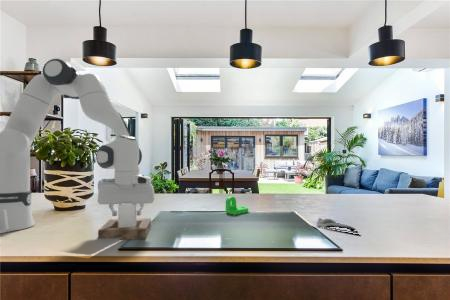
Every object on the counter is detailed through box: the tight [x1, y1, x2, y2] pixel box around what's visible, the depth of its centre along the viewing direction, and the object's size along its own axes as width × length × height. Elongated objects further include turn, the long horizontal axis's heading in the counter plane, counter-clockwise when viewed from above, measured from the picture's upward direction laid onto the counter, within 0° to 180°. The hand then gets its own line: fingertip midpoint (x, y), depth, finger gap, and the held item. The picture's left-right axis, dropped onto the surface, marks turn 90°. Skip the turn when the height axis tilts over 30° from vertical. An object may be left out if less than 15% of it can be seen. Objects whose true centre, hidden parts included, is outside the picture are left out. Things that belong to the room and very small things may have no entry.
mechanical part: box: [225, 196, 249, 216], centre depth 149 cm, size 12×6×8 cm, turn 134°
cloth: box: [316, 217, 357, 233], centre depth 123 cm, size 26×14×2 cm, turn 3°
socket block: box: [97, 217, 152, 241], centre depth 110 cm, size 16×16×4 cm
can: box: [117, 202, 137, 228], centre depth 111 cm, size 6×6×12 cm
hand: (126, 215), depth 110 cm, fingers open, 7 cm apart
